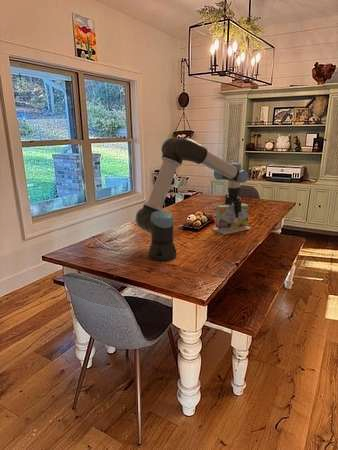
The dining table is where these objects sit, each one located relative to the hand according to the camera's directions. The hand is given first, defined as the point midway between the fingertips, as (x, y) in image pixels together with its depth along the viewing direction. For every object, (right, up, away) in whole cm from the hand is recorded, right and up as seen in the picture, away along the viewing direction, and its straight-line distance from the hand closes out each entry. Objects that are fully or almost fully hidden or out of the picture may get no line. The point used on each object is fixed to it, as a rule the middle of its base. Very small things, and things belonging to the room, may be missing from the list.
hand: (232, 221), depth 212 cm
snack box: (0, -4, +1) cm, 4 cm away
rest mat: (0, -6, +2) cm, 6 cm away
